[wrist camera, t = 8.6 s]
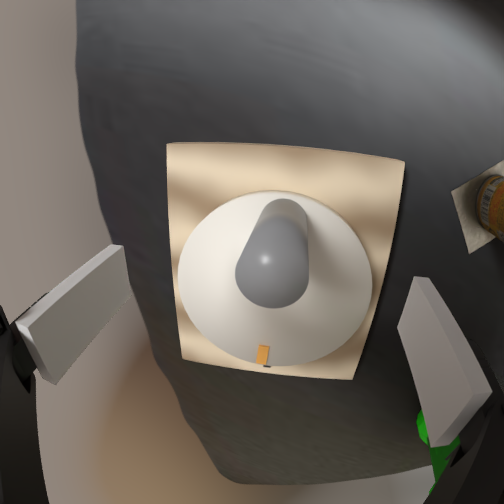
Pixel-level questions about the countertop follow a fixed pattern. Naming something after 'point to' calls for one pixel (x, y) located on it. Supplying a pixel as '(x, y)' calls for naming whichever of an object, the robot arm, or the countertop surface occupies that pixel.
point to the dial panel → (290, 179)
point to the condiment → (482, 207)
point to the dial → (275, 278)
